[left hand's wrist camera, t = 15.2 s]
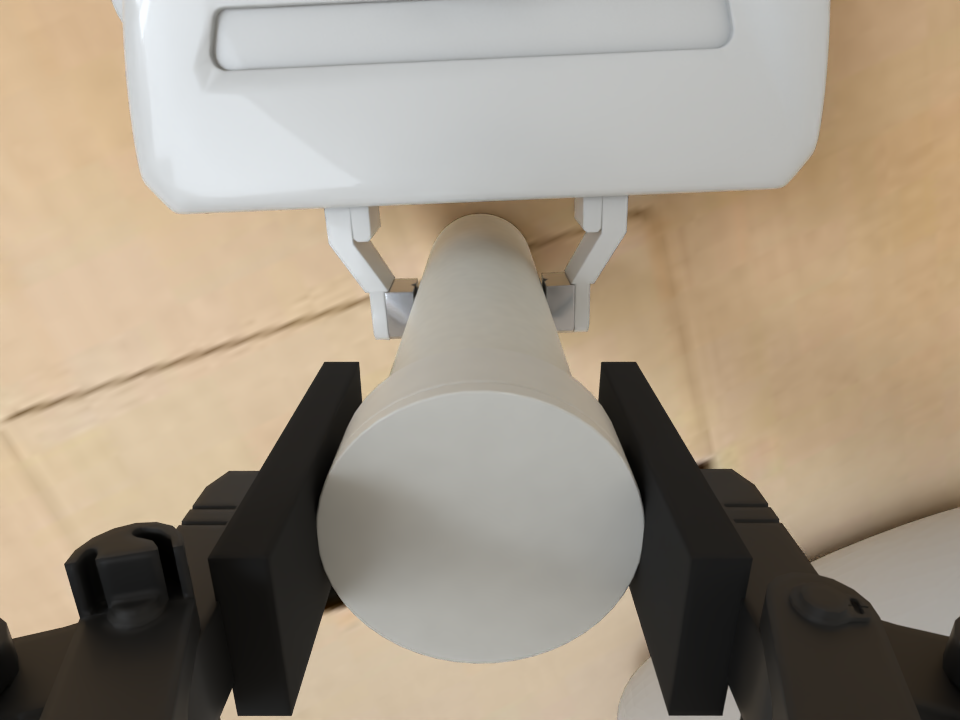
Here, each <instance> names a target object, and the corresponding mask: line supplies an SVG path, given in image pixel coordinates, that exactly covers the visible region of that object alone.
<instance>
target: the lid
mask: <svg viewBox="0 0 960 720" xmlns="http://www.w3.org/2000/svg"><path fill="white" fill-rule="evenodd" d="M644 523H645V516H644V507H643V503H642V499H641V494H640V490H639V488H638V485H637V483H636V481H635V478H634V476H633V473H632V471H631V468H630V466H629V463H628V461H627V458H626V456H625V454H624V451H623V449H622V446H621V444H620V441H619V439H618V436H617V434H616V432H615V429H614V427H613V424H612V422H611V420H610V419H609V417H608V415H607V414H606V412H605V410H604V409H603V407H602V406H601V404H600V403H599V402H598V401H597V400H596V398H595V397H594V396H593V395H592V394H591V392H589V391H588V390H587V389H586V388H585V387H584V386H583V385H582V384H581V383H580V382H579V381H577V380H576V379H575V378H573V377H572V376H570V375H569V374H567V373H566V372H564V371H563V370H562V369H560V368H558V367H556V366H554V365H552V364H550V363H548V362H546V361H544V360H541V359H538V358H535V357H533V356H530V355H527V354H523V353H519V352H514V351H510V350H503V349H493V348H465V349H459V350H452V351H446V352H442V353H439V354H435V355H431V356H428V357H425V358H423V359H420V360H418V361H416V362H413V363H411V364H409V365H407V366H405V367H404V368H402V369H400V370H398V371H397V372H395V373H393V374H392V375H390V376H389V377H388V378H387V379H385V380H384V381H383V382H382V383H380V384H379V385H378V386H377V387H376V388H375V389H374V390H373V391H372V392H371V393H370V394H369V395H368V396H367V397H366V398H365V399H364V401H363V402H362V403H361V405H360V406H359V408H358V409H357V410H356V412H355V413H354V415H353V417H352V419H351V421H350V423H349V425H348V427H347V429H346V431H345V434H344V436H343V438H342V441H341V443H340V446H339V448H338V451H337V453H336V455H335V458H334V460H333V463H332V465H331V468H330V470H329V473H328V475H327V477H326V480H325V483H324V486H323V489H322V491H321V494H320V497H319V503H318V509H317V514H316V527H317V537H318V545H319V554H320V557H321V561H322V564H323V567H324V570H325V572H326V574H327V576H328V578H329V580H330V583H331V585H332V586H333V588H334V589H335V591H336V592H337V594H338V595H339V597H340V598H341V600H342V601H343V602H344V603H345V605H346V606H347V607H348V608H349V609H350V610H351V611H352V613H353V614H354V615H355V616H357V617H358V618H359V619H360V620H361V621H362V622H363V623H364V624H366V625H367V626H368V627H369V628H371V629H372V630H374V631H375V632H377V633H378V634H379V635H381V636H382V637H384V638H386V639H388V640H390V641H391V642H393V643H395V644H397V645H399V646H401V647H404V648H406V649H409V650H411V651H414V652H416V653H419V654H422V655H426V656H429V657H433V658H436V659H442V660H447V661H453V662H462V663H499V662H508V661H515V660H520V659H524V658H528V657H533V656H536V655H539V654H542V653H545V652H548V651H551V650H553V649H555V648H558V647H560V646H562V645H564V644H566V643H568V642H570V641H572V640H574V639H575V638H577V637H579V636H580V635H582V634H584V633H585V632H586V631H588V630H589V629H590V628H592V627H593V626H594V625H596V624H597V623H598V622H599V621H600V620H602V619H603V618H604V617H605V616H606V615H607V614H608V613H609V612H610V611H611V610H612V609H613V607H614V606H615V605H616V604H617V602H618V601H619V600H620V599H621V597H622V596H623V595H624V593H625V591H626V590H627V588H628V586H629V585H630V583H631V581H632V579H633V577H634V575H635V572H636V570H637V567H638V565H639V562H640V558H641V550H642V542H643V533H644Z"/></svg>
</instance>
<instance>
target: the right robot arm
mask: <svg viewBox="0 0 960 720" xmlns="http://www.w3.org/2000/svg"><path fill="white" fill-rule="evenodd" d="M112 3H113V6H114V8H115V10H116V13H117V14H118V16H119V18H120V20H121V21H122V23H123V41H124V56H125V70H126V82H127V91H128V100H129V109H130V117H131V124H132V131H133V137H134V143H135V149H136V155H137V161H138V165H139V170H140V173H141V176H142V179H143V181H144V183H145V184H146V186H147V187H148V188H149V189H150V190H151V191H152V192H153V193H154V194H155V195H156V196H157V197H158V198H159V199H160V200H161V201H162V202H163V203H164V204H165V205H166V206H167V207H168V208H169V209H170V210H172V211H173V212H175V213H178V214H202V213H226V212H249V211H273V210H296V209H320V208H324V210H325V218H326V226H327V233H328V241H329V245H330V246H331V247H332V249H333V250H334V251H335V253H336V254H337V255H338V257H339V258H340V259H341V261H342V262H343V263H344V265H345V266H346V267H347V269H348V270H349V271H350V273H351V274H352V275H353V277H354V278H355V279H356V281H357V282H358V283H359V285H360V286H361V287H362V289H363V290H364V291H365V293H369V295H370V304H371V312H372V321H373V330H374V336H375V338H376V340H390V339H401V338H402V336H403V333H404V330H405V327H406V324H407V321H408V318H409V315H410V312H411V309H412V306H413V303H414V300H415V297H416V294H417V291H418V278H408V279H395V277H394V275H393V274H392V272H391V271H390V269H389V268H388V266H387V265H386V263H385V262H384V260H383V259H382V257H381V256H380V254H379V253H378V251H377V250H376V248H375V247H374V245H373V244H372V242H371V241H370V239H371V238H372V237H373V235H374V234H375V233H376V232H377V231H378V229H379V228H380V227H381V224H380V212H379V206H391V205H414V204H438V203H461V202H485V201H508V200H532V199H555V198H574V212H575V219H576V221H577V222H578V223H579V225H580V226H581V227H582V228H583V230H585V231H586V232H585V234H584V236H583V238H582V240H581V241H580V243H579V245H578V247H577V249H576V250H575V252H574V254H573V256H572V257H571V259H570V261H569V263H568V265H567V266H566V268H565V270H564V271H565V272H555V273H542V288H543V291H544V294H545V297H546V300H547V303H548V306H549V309H550V312H551V315H552V318H553V321H554V324H555V327H556V330H557V333H567V332H587V331H588V328H589V316H590V284H594V283H595V281H596V280H597V278H598V277H599V275H600V273H601V272H602V270H603V269H604V267H605V265H606V264H607V262H608V261H609V259H610V258H611V256H612V254H613V253H614V251H615V250H616V248H617V246H618V245H619V243H620V242H621V240H622V238H623V237H624V235H625V234H626V232H627V212H628V195H650V194H673V193H697V192H720V191H744V190H766V189H779V188H782V187H784V186H785V185H787V184H788V183H789V182H790V181H791V180H792V179H793V178H794V176H795V175H796V174H797V173H798V172H799V170H800V169H801V168H802V167H803V166H804V164H805V163H806V162H807V161H808V160H809V158H810V157H811V156H812V154H813V152H814V150H815V148H816V145H817V141H818V137H819V132H820V126H821V120H822V112H823V105H824V96H825V87H826V77H827V65H828V50H829V32H830V0H112Z"/></svg>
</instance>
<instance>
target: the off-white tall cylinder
mask: <svg viewBox="0 0 960 720" xmlns="http://www.w3.org/2000/svg"><path fill="white" fill-rule="evenodd" d="M465 348H493V349H503V350H510V351H514V352H519V353H523V354H527V355H530V356H533V357H535V358H538V359H541V360H544V361H546V362H548V363H550V364H552V365H554V366H556V367H558V368H560V369H562V370H563V371H564V372H566V373H567V374H569V375H570V376H572V375H571V372H570V369H569V366H568V363H567V360H566V357H565V354H564V351H563V348H562V345H561V342H560V339H559V336H558V333H557V330H556V327H555V324H554V321H553V318H552V315H551V312H550V309H549V306H548V303H547V300H546V297H545V294H544V291H543V288H542V285H541V282H540V279H539V276H538V273H537V270H536V267H535V264H534V261H533V258H532V255H531V252H530V249H529V246H528V244H527V242H526V240H525V238H524V237H523V235H522V234H521V232H520V231H519V230H518V229H517V228H516V227H515V226H513V225H512V224H511V223H510V222H508V221H506V220H505V219H502V218H500V217H497V216H494V215H489V214H471V215H467V216H464V217H461V218H459V219H457V220H455V221H453V222H452V223H450V224H449V225H448V226H446V227H445V228H444V229H443V230H442V231H441V233H440V234H439V235H438V237H437V238H436V240H435V242H434V244H433V247H432V249H431V252H430V255H429V258H428V261H427V264H426V267H425V270H424V273H423V276H422V279H421V282H420V285H419V288H418V291H417V294H416V297H415V300H414V303H413V306H412V309H411V312H410V315H409V318H408V321H407V324H406V327H405V330H404V333H403V336H402V339H401V342H400V345H399V348H398V351H397V354H396V357H395V360H394V363H393V366H392V369H391V372H390V375H392V374H393V373H395V372H397V371H398V370H400V369H402V368H404V367H405V366H407V365H409V364H411V363H413V362H416V361H418V360H420V359H423V358H425V357H428V356H431V355H435V354H439V353H442V352H446V351H452V350H459V349H465ZM390 375H389V376H390Z"/></svg>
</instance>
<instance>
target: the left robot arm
mask: <svg viewBox="0 0 960 720" xmlns="http://www.w3.org/2000/svg"><path fill="white" fill-rule="evenodd" d="M598 402H599V403H600V404H601V406H602V407H603V409H604V410H605V412H606V414H607V415H608V417H609V419H610V420H611V422H612V424H613V427H614V429H615V432H616V434H617V436H618V439H619V441H620V444H621V446H622V449H623V451H624V454H625V456H626V458H627V461H628V463H629V466H630V468H631V471H632V473H633V476H634V478H635V481H636V483H637V485H638V488H639V490H640V494H641V499H642V503H643V507H644V516H645V523H644V533H643V542H642V550H641V558H640V562H639V565H638V567H637V570H636V572H635V575H634V577H633V579H632V581H631V583H630V585H629V588H630V591H631V594H632V597H633V601H634V604H635V607H636V610H637V614H638V617H639V620H640V623H641V627H642V630H643V633H644V636H645V640H646V643H647V646H648V650H649V653H650V656H651V659H652V663H653V666H654V669H655V672H656V676H657V679H658V682H659V685H660V689H661V692H662V695H663V698H664V702H665V705H666V708H667V711H668V715H669V716H723V711H724V706H725V701H726V695H727V690H728V685H729V688H730V690H731V692H732V695H733V697H734V699H735V702H736V704H737V707H738V709H739V711H740V714H741V715H740V720H960V617H958V618H957V619H956V620H955V622H954V625H953V628H952V631H951V633H950V636H945V635H941V634H936V633H932V632H927V631H923V630H919V629H914V628H910V627H905V626H901V625H897V624H893V623H890V622H887V621H883V620H881V618H880V617H879V615H878V614H877V612H876V611H875V609H874V608H873V606H872V605H871V603H870V602H869V601H868V600H866V599H865V598H864V597H863V596H861V595H860V594H859V593H858V592H856V591H855V590H854V589H852V588H850V587H848V586H846V585H844V584H842V583H840V582H838V581H836V580H834V579H832V578H828V577H824V576H821V575H819V574H818V573H817V571H816V570H815V569H814V567H813V566H812V564H811V563H810V562H809V560H808V559H807V557H806V556H805V555H804V553H803V552H802V551H801V549H800V548H799V546H798V545H797V544H796V542H795V541H794V539H793V538H792V537H791V535H790V534H789V532H788V531H787V530H786V528H785V527H784V525H783V524H782V523H779V518H778V517H777V516H776V514H775V513H774V511H773V510H772V509H771V507H768V503H767V502H766V500H765V499H764V497H763V496H762V495H761V493H760V492H759V490H758V489H757V488H756V486H755V485H754V484H752V483H751V482H750V481H748V480H747V479H745V478H744V477H742V476H741V475H740V474H738V473H737V472H735V471H734V470H732V469H699V467H698V465H697V464H696V462H695V460H694V459H693V457H692V455H691V454H690V452H689V450H688V449H687V447H686V445H685V444H684V442H683V440H682V439H681V437H680V435H679V433H678V432H677V430H676V428H675V427H674V425H673V423H672V422H671V420H670V418H669V417H668V415H667V413H666V412H665V410H664V408H663V407H662V405H661V403H660V402H659V400H658V398H657V397H656V395H655V393H654V392H653V390H652V388H651V387H650V385H649V383H648V382H647V380H646V378H645V376H644V375H643V373H642V371H641V370H640V368H639V366H638V365H637V363H636V362H601V373H600V387H599V400H598ZM361 403H362V395H361V381H360V368H359V362H324V364H323V365H322V367H321V369H320V370H319V372H318V374H317V375H316V377H315V379H314V381H313V382H312V384H311V386H310V387H309V389H308V391H307V392H306V394H305V396H304V397H303V399H302V401H301V402H300V404H299V406H298V407H297V409H296V411H295V412H294V414H293V416H292V417H291V419H290V421H289V422H288V424H287V426H286V427H285V429H284V431H283V433H282V434H281V436H280V438H279V439H278V441H277V443H276V444H275V446H274V448H273V449H272V451H271V453H270V454H269V456H268V458H267V459H266V461H265V463H264V464H263V466H262V468H261V469H260V471H228V472H227V473H226V474H224V475H223V476H221V477H220V478H218V479H217V480H216V481H214V482H213V483H211V484H210V485H208V486H207V487H206V488H205V489H204V491H203V492H202V494H201V495H200V496H199V498H198V499H197V501H196V502H195V503H194V505H193V509H192V510H189V512H188V513H187V515H186V516H185V518H184V519H183V520H182V525H179V526H178V527H177V529H175V528H174V527H173V526H171V525H166V524H162V523H158V522H149V523H134V524H130V525H126V526H122V527H118V528H114V529H112V530H110V531H107V532H105V533H103V534H100V535H98V536H96V537H94V538H92V539H91V540H89V541H88V542H86V543H85V544H83V545H82V546H81V547H79V548H78V549H76V550H75V551H74V552H73V554H72V555H71V556H70V558H69V559H68V560H67V561H66V563H65V564H64V565H65V569H66V572H67V575H68V579H69V582H70V586H71V589H72V592H73V596H74V599H75V602H76V606H77V609H78V613H79V616H80V620H79V622H78V623H76V624H73V625H70V626H66V627H63V628H58V629H54V630H49V631H45V632H41V633H36V634H32V635H27V636H23V637H18V638H14V639H12V638H11V635H10V632H9V629H8V626H7V623H6V622H5V621H4V620H2V619H1V618H0V720H220V716H221V713H222V711H223V708H224V706H225V704H226V701H227V699H228V697H229V694H230V692H231V689H232V688H233V693H234V699H235V704H236V709H237V714H238V716H292V713H293V709H294V706H295V703H296V700H297V696H298V693H299V690H300V687H301V683H302V680H303V677H304V674H305V670H306V667H307V664H308V661H309V657H310V654H311V651H312V648H313V644H314V641H315V638H316V634H317V631H318V628H319V625H320V621H321V618H322V615H323V612H324V608H325V605H326V602H327V599H328V595H329V592H330V589H331V586H332V585H331V583H330V580H329V578H328V576H327V574H326V572H325V570H324V567H323V564H322V561H321V557H320V554H319V545H318V537H317V527H316V514H317V509H318V503H319V497H320V494H321V491H322V489H323V486H324V483H325V480H326V477H327V475H328V473H329V470H330V468H331V465H332V463H333V460H334V458H335V455H336V453H337V451H338V448H339V446H340V443H341V441H342V438H343V436H344V434H345V431H346V429H347V427H348V425H349V423H350V421H351V419H352V417H353V415H354V413H355V412H356V410H357V409H358V408H359V406H360V405H361Z"/></svg>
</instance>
